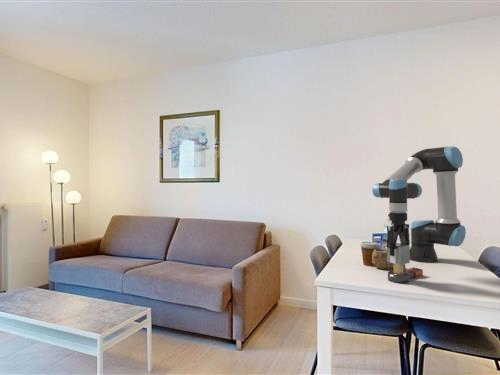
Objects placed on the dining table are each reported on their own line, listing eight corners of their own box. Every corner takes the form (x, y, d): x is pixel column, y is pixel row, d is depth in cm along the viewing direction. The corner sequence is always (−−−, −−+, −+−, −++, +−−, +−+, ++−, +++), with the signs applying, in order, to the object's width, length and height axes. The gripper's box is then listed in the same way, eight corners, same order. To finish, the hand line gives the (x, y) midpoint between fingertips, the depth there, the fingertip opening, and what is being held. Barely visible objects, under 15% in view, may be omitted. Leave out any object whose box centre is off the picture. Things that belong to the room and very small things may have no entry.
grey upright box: (395, 259, 144) (395, 242, 144) (409, 262, 138) (409, 245, 138) (387, 261, 140) (386, 244, 140) (400, 264, 134) (400, 246, 134)
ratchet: (409, 272, 151) (409, 254, 151) (427, 277, 143) (427, 258, 143) (383, 279, 141) (383, 260, 141) (401, 284, 133) (401, 264, 133)
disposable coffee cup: (357, 264, 166) (357, 243, 166) (364, 261, 173) (364, 240, 173) (374, 268, 160) (374, 245, 160) (381, 264, 167) (381, 242, 167)
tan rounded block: (407, 272, 151) (407, 252, 151) (373, 270, 156) (373, 251, 156) (403, 267, 160) (403, 249, 160) (371, 265, 164) (371, 247, 164)
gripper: (403, 210, 147) (403, 257, 147) (377, 212, 137) (377, 262, 137) (418, 211, 141) (418, 260, 141) (392, 213, 131) (392, 266, 131)
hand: (398, 261), depth 139 cm, fingers closed on grey upright box, 7 cm apart
